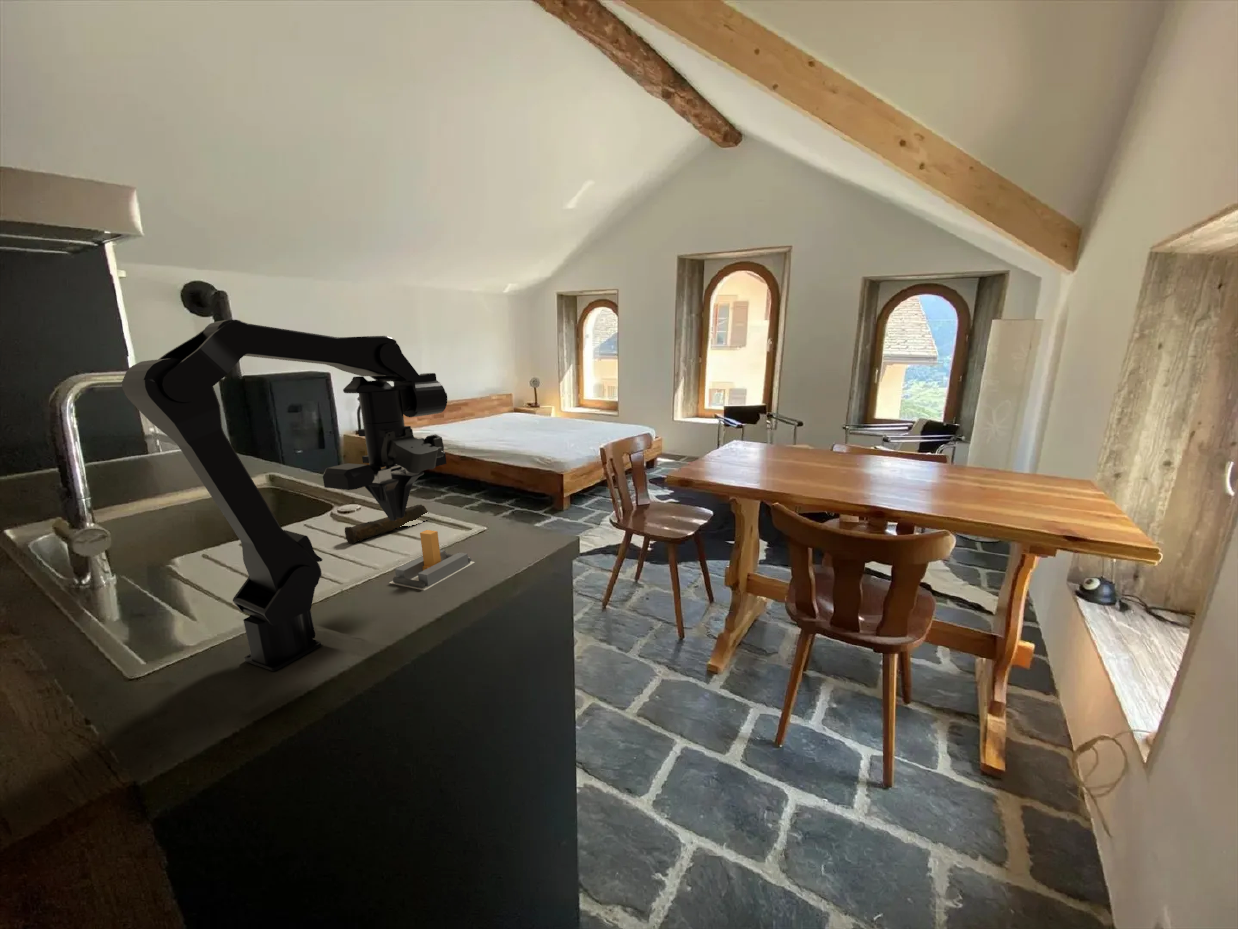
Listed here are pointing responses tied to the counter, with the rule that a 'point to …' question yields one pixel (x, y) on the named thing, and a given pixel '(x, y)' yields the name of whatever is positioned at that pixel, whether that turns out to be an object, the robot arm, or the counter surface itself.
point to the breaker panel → (430, 571)
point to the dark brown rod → (382, 525)
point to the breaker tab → (430, 548)
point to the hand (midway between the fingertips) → (397, 519)
